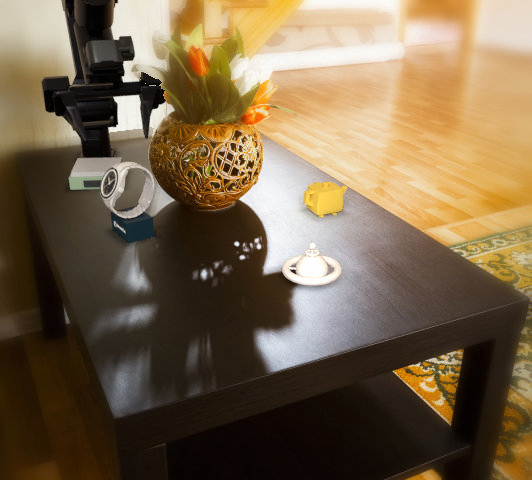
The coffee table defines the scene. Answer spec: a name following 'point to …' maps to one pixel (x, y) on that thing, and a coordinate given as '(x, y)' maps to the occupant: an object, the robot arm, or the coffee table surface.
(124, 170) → the watch
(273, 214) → the coffee table surface
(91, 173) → the scale
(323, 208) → the teapot
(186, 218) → the coffee table surface
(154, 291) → the coffee table surface
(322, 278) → the ring around a ball
